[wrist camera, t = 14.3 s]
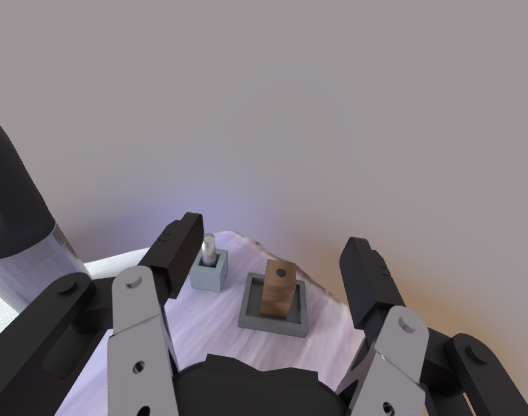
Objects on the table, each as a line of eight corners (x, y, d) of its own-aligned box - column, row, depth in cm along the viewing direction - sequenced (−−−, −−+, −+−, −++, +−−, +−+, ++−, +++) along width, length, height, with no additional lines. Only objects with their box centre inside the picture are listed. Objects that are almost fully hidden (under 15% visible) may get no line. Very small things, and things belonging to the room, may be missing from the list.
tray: (238, 326, 37) (238, 320, 35) (247, 279, 45) (248, 272, 43) (304, 337, 36) (307, 331, 35) (301, 288, 45) (304, 281, 43)
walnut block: (259, 315, 38) (264, 283, 32) (262, 291, 42) (267, 258, 36) (285, 319, 38) (296, 288, 32) (286, 294, 42) (295, 263, 36)
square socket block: (191, 287, 42) (188, 269, 39) (202, 264, 47) (200, 246, 43) (220, 292, 42) (219, 274, 38) (227, 268, 47) (227, 250, 43)
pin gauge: (202, 282, 43) (197, 241, 36) (207, 272, 45) (202, 232, 39) (214, 283, 43) (212, 244, 36) (218, 273, 45) (216, 234, 38)
